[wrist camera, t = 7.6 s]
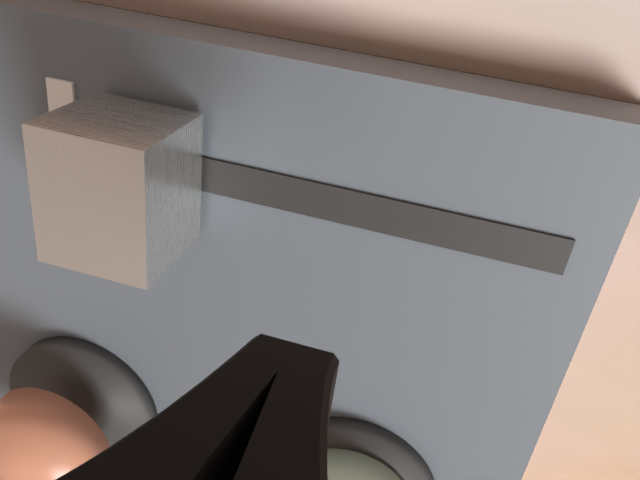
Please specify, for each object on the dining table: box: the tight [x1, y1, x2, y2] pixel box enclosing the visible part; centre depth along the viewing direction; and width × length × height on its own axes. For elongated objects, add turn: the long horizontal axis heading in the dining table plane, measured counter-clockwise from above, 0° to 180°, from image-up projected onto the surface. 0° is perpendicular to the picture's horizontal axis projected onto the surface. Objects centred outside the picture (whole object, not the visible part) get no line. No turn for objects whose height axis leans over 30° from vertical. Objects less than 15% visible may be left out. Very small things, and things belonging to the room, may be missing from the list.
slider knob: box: [21, 91, 203, 290], centre depth 16 cm, size 4×3×3 cm
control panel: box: [0, 0, 640, 480], centre depth 20 cm, size 17×20×3 cm
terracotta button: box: [0, 387, 110, 480], centre depth 20 cm, size 4×4×2 cm
